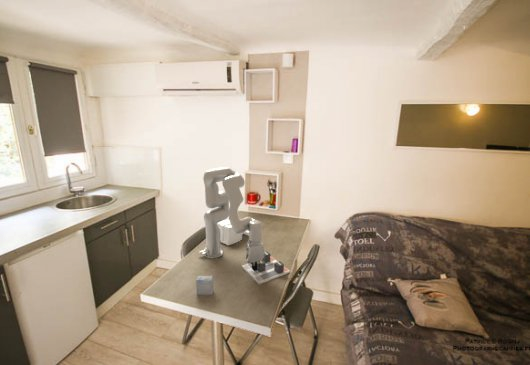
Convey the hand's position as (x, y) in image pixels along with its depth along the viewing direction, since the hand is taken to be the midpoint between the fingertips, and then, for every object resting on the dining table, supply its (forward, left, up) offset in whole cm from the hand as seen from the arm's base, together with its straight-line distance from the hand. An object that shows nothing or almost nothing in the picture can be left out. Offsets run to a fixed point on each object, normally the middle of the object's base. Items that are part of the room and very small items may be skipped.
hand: (254, 269), depth 149 cm
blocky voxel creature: (+12, +49, -3) cm, 51 cm away
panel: (+8, 0, -3) cm, 8 cm away
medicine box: (-31, -1, -3) cm, 31 cm away
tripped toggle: (+5, 0, -1) cm, 5 cm away
